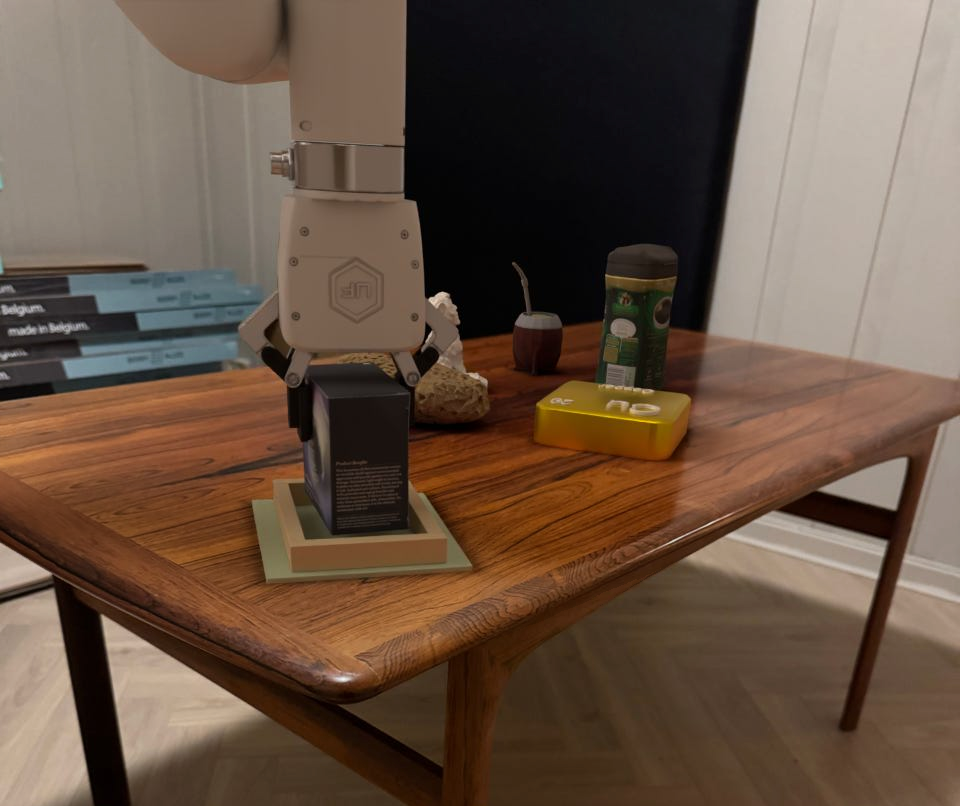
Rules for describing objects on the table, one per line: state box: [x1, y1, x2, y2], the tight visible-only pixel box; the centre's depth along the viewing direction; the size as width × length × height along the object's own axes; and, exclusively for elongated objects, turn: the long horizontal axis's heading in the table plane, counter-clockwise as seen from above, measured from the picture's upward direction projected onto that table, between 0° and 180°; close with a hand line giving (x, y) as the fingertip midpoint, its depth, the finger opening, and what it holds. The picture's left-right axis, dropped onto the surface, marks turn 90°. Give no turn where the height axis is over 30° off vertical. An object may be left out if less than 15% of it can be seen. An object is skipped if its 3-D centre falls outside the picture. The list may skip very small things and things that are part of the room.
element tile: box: [533, 380, 692, 462], centre depth 106 cm, size 15×15×5 cm
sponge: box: [332, 353, 491, 426], centre depth 109 cm, size 13×8×20 cm
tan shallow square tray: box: [251, 477, 474, 585], centre depth 76 cm, size 15×17×3 cm
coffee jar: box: [594, 243, 679, 391], centre depth 123 cm, size 10×8×19 cm
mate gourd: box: [511, 261, 564, 377], centre depth 133 cm, size 8×8×15 cm
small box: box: [302, 362, 410, 535], centre depth 73 cm, size 11×6×10 cm, turn 21°
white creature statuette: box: [425, 291, 489, 392], centre depth 122 cm, size 10×9×12 cm
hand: (351, 434), depth 72 cm, fingers closed on small box, 6 cm apart
